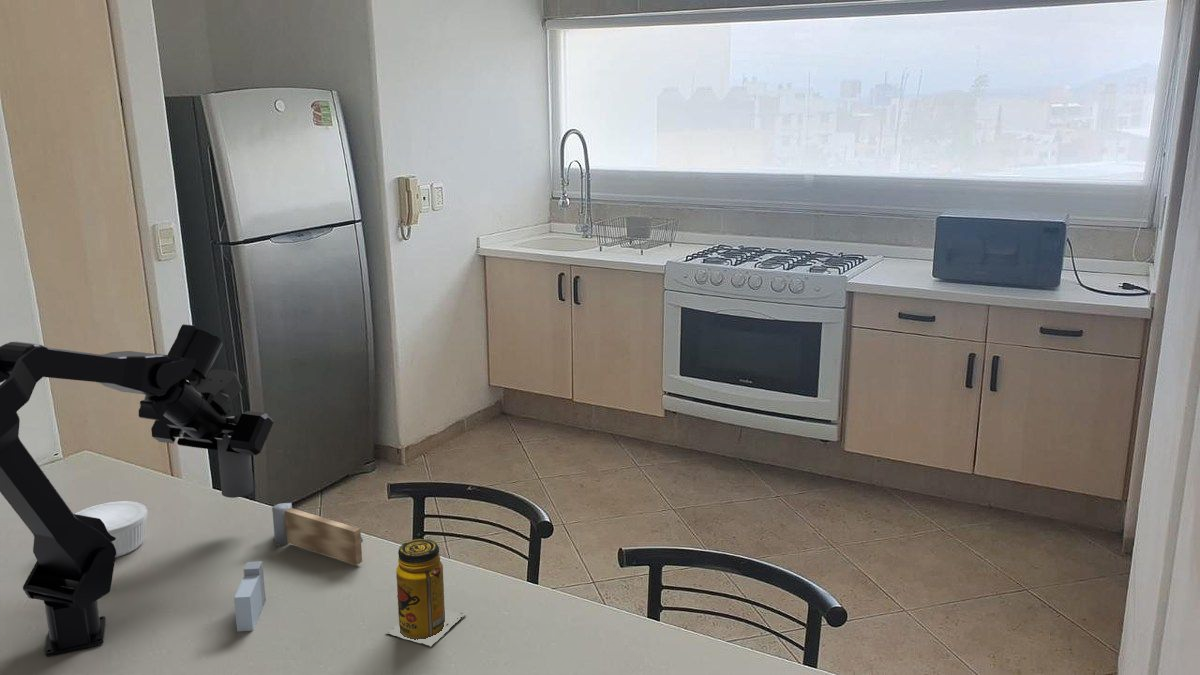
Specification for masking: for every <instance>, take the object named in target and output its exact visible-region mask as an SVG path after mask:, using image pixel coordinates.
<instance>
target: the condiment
mask: <svg viewBox="0 0 1200 675" xmlns="http://www.w3.org/2000/svg"><path fill="white" fill-rule="evenodd" d="M397 552H398V553H397V554H398V559H397V560H398V561H397V562H398V565H397V566H396V571H395V572H396V576H395V577H396V590H397V593H396V594H397V595H396V597H397V610H398V611H397V612H398V615H397V616H398V623H399V627H400V633H401V634H402V635H403V636H404V637H407V638H410V639H414V640H416V639H417V640H418V639H426V638H428V637H431V636H433V635H436V634H437V633H439V632H440V631H442V629H443V627H444V622H445V609H446V607H445V588H444V587H445V586H444V565H443V563H442V562H441V556H440V547H439V545H438V544H437V542H435V541H434V540H431V539H428V538H427V539H426V538H417V539H411V540H408V541H406V542H403V543H402V544H401V545H400V546H399V549H398V551H397ZM466 615H467V613H466V614H465V616H466ZM465 616H463V615H462V619H463V618H464V617H465ZM460 618H461V617H460ZM457 619H458V618H457Z"/></svg>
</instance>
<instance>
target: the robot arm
mask: <svg viewBox="0 0 1200 675" xmlns="http://www.w3.org/2000/svg"><path fill="white" fill-rule="evenodd" d="M171 345H172V346H171V347H170V349H169V351H168V353H167V354H160V353H151V352H140V351H135V350H134V351H133V350H123V351H111V352H107V353H102V354H96V353H92V352H91V353H88V352H84V351H82V352H81V351H76V350H69V349H68V350H67V349H62V348H61V349H60V348H53V347H47V346H44V345H42V344H39V343H38V344H37V343H30V342H21V341H10V342H8V343H5V344H3V345H1V346H0V494H1V495H2V496H3V498H4V499H5V500H6V501H7V502H8V504H9V505H10V507H11V508H12V509H13V510H14V512H15V514H16V515H18V517H19V518H20V519H21V520H22V522H23V523H24V525H25V526H26V527H27V529H29V531H30V532H31V534H32V535H33V546H32V552H33V555H34V557H35V559H36V562H35V563H34V565H33V568H32V570H31V571H30V573H29V575H28V576H27V578H26V580H25V583H24V584H23V586H22V591H24V593H25V595H26V596H27V597H28V599H32V600H40V601H43V602H44V604H43V605H44V610H45V615H46V621H47V629H48V632H47V633H48V634H47V637H46V638H47V639H46V643H45V648H44V655H45V656H46V657H50V656H55V655H58V654H59V655H60V654H63V653H68V652H72V651H77V650H82V649H86V648H91V647H95V646H100V645H103V644H104V643H105V632H106V624H107V622H106V621H107V620H106V619H107V618H106V616H104V615H101V616H100V613H99V612H100V610H99V605H98V600H100V599H101V598H103V597H104V596H106V595H107V594H109V593H110V592H111V589H112V582H113V575H114V570H115V563H116V558H115V556H116V548H115V546H114V544H113V543H112V541H114V540H115V539H116V538H115V537H113V536H111V535H110V534H109V533H108V531H107V529H106V527H105V524H104V523H103V522H102V521H101V519H99V518H94V517H88V516H83V515H77V514H76V513H73V511H72V510H71V508H70V507H69V506H68V505H67V503H66V501H65V500H64V499H63V497H62V496H61V494H59V492H58V491H57V489H56V488H55V486H54V485H53V484H52V481H50V479H49V478H48V477H47V475H46V474H45V473H44V471H43V470H42V468H41V467H40V466H39V464H38V463H37V462H36V459H34V457H33V456H32V454H31V453H30V452H29V451H28V448H26V446H25V445H24V443H23V442H22V441H21V439H20V438H19V434H20V433H19V432H20V422H21V421H20V416H19V414H18V411H19V410H20V409H21V408H22V407H24V406H25V405H26V404H27V403H28V402H29V401H30V399H31V397H32V394H33V391H34V390H35V387H36V385H37V383H39V381H40V380H41V379H43V378H50V379H60V380H70V381H71V380H72V381H81V382H82V381H83V382H90V383H91V382H93V383H97V384H100V385H102V386H103V387H107V388H110V389H113V390H116V391H118V392H123V393H130V394H137V395H145V396H144V399H141V400H140V401H139V405H140V406H139V408H138V417H139V419H146V420H153V421H154V423H153V424H152V426H151V437H152V438H153V439H154V440H156V441H158V442H159V443H165V444H171V445H172V444H174V443H175V441H176V440H177V441H176V442H177V443H176V444H177V445H178V446H181V447H190V448H196V449H197V448H198V449H206V450H214V451H218V448H217V439H223V438H224V437H225V433H226V434H228V435H227V436H228V437H230V443H229V445H228V448H227V450H226V452H231V453H238V454H248V455H251V456H257V455H258V454H260V453H262V450H263V448H264V445H265V443H266V441H267V438H268V436H269V434H270V431H271V429H272V427H273V424H274V420H273V418H272V417H271V416H270V415H268V413H265V412H259V411H250V410H246V411H244V412H242V413H241V414H237V415H234V416H235V417H234V418H227V417H228V416H226V415H230V413H231V411H232V409H233V407H232V406H230V403H231V402H232V401H233V400H234V398H235V397H236V396H237V395H238V393H241V392H242V390H243V386H242V384H241V382H240V379H239V378H238V376H237V373H236V372H235V371H233V370H224V369H212V370H211V368H212V367H213V364H214V363H215V361H216V359H217V357H218V355H219V352H220V350H221V349H222V346H223V341H222V340H221V338H220V337H218V336H217V335H214V334H212V333H210V332H207V331H205V330H203V329H201V328H200V329H199V328H198V327H196V326H195V325H193V324H185V323H183V324H181V326H180V328H179V330H178V332H177V336H176V337H175V340H174V342H173V344H171ZM234 424H235V425H234ZM176 438H177V439H176Z"/></svg>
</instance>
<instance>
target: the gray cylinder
mask: <svg viewBox="0 0 1200 675" xmlns="http://www.w3.org/2000/svg"><path fill="white" fill-rule="evenodd" d="M235 416H236V415H233V416H226V417H227V418H234V417H235ZM234 425H235V424H234ZM227 435H228V434H226V433H225V437H224V438H223V439H217V448H218V450H217V456H218V457H217V458H218V465H219V466H218V468H219V478H220V488H221V495H222V496H223V497H226V498H232V499H235V498H242V497H245V496H249V494H252V493H253V492H254V491H255V490H254V476H253V467H252V463H253V462H252V455H248V454H238V453H231V452H226V450H227V448H228V445H229V443H230V437H228V436H227Z"/></svg>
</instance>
